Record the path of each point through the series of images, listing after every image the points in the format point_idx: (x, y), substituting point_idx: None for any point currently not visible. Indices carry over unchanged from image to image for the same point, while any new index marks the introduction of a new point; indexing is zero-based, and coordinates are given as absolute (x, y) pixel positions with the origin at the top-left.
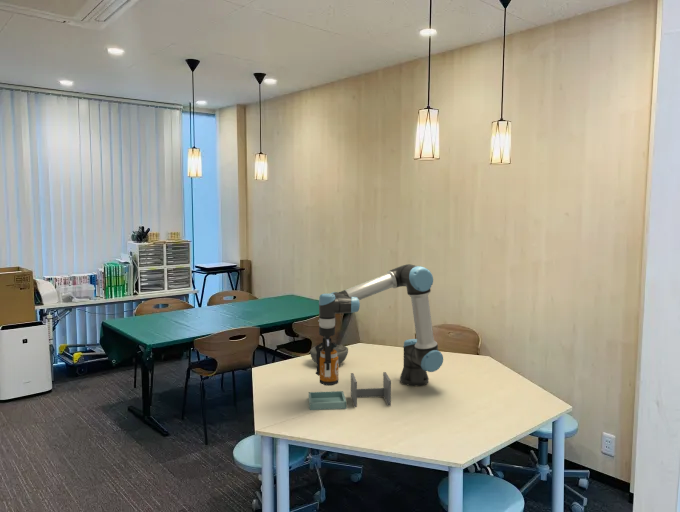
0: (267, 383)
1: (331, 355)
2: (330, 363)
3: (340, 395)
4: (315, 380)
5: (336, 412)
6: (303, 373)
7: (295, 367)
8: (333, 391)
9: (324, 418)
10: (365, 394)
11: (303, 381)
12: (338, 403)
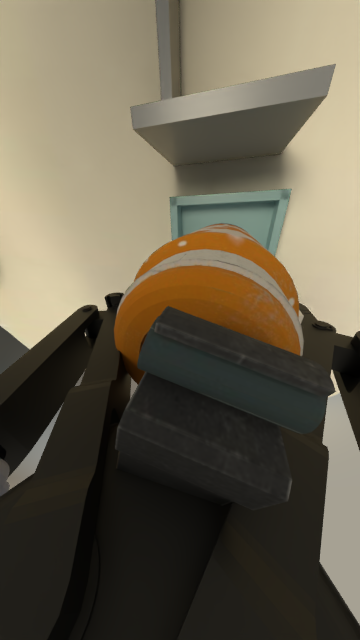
0: None
1: (300, 343)
2: (301, 315)
3: (180, 209)
4: (64, 272)
5: (306, 234)
6: (34, 293)
7: (10, 304)
8: (172, 235)
9: (339, 277)
10: (177, 74)
11: (78, 298)
12: (281, 225)
